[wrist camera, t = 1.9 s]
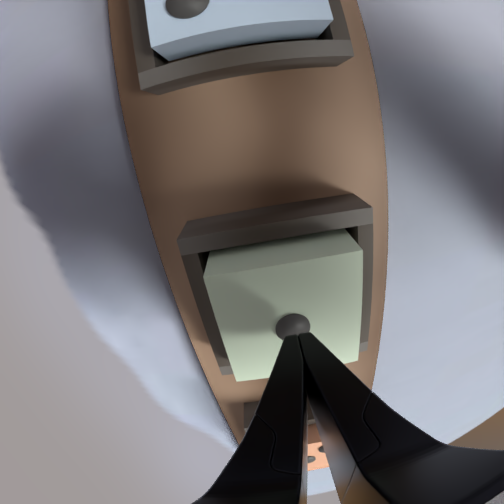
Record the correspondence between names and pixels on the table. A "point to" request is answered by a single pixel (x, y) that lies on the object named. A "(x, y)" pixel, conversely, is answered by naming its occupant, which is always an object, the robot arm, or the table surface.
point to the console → (255, 166)
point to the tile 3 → (315, 450)
